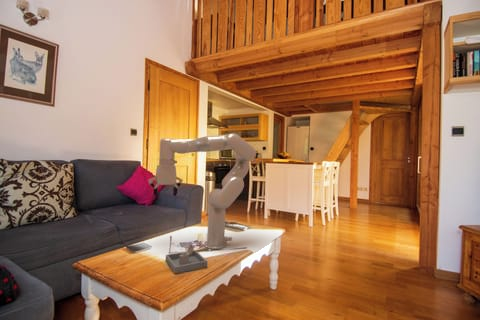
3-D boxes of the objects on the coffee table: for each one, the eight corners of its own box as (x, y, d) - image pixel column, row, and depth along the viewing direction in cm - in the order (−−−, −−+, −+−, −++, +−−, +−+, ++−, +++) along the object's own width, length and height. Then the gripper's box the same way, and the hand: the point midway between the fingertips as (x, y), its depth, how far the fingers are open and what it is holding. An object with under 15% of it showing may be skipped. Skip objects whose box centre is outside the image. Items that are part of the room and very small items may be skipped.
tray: (195, 256, 124) (195, 250, 124) (207, 267, 111) (207, 261, 111) (165, 261, 116) (165, 254, 116) (174, 274, 104) (174, 267, 104)
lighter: (181, 266, 111) (181, 248, 111) (178, 264, 112) (179, 246, 112) (194, 261, 116) (195, 244, 116) (192, 260, 117) (192, 243, 117)
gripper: (180, 162, 136) (179, 194, 137) (147, 161, 127) (146, 195, 128) (185, 163, 130) (184, 196, 130) (150, 162, 121) (149, 197, 121)
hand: (165, 195), depth 129 cm, fingers open, 9 cm apart
